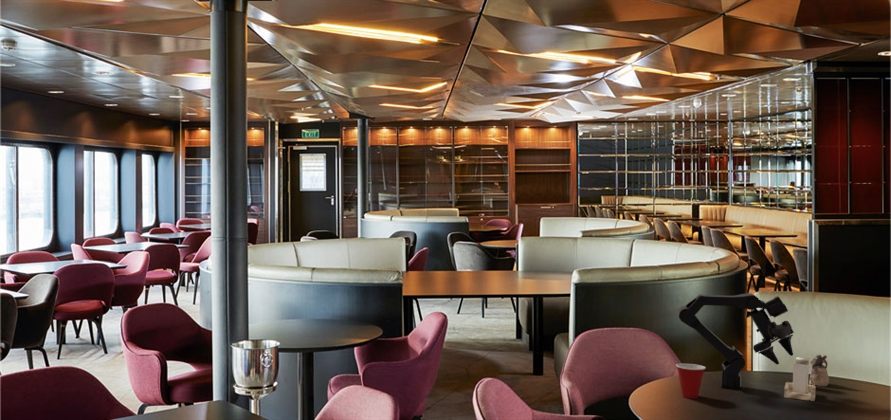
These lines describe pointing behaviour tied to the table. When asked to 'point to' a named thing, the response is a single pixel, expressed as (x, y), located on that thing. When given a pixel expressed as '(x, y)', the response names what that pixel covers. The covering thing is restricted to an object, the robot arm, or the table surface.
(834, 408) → the table surface
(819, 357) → the figurine
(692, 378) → the plastic cup
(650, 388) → the table surface
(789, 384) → the cradle
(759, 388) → the table surface
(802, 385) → the block
